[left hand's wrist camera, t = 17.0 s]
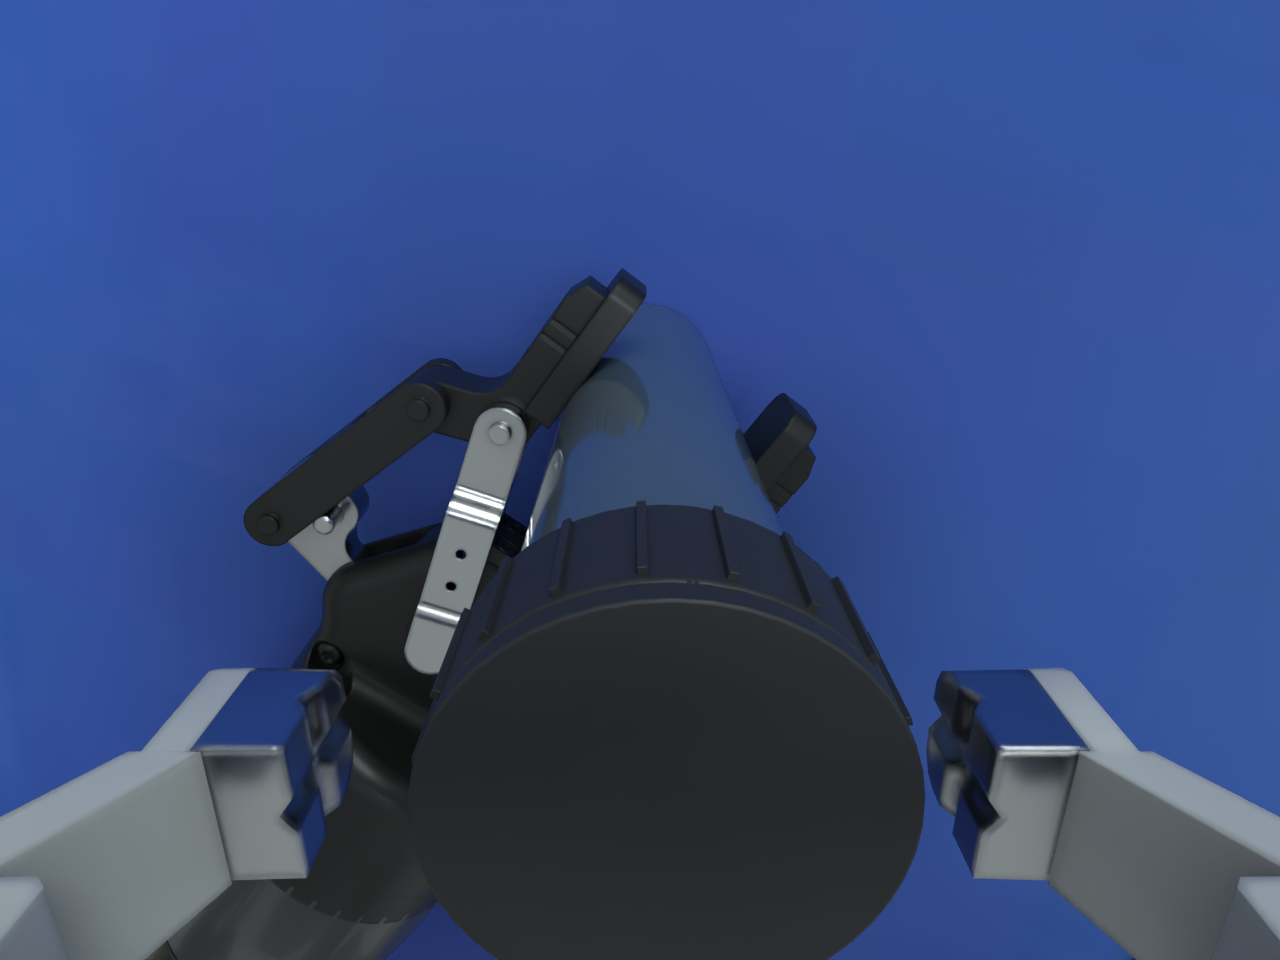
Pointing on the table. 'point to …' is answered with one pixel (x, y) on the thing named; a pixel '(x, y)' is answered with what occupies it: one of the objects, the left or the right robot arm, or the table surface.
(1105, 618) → the table surface
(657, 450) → the grey cylinder
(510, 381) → the right robot arm
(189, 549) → the table surface
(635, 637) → the lid
